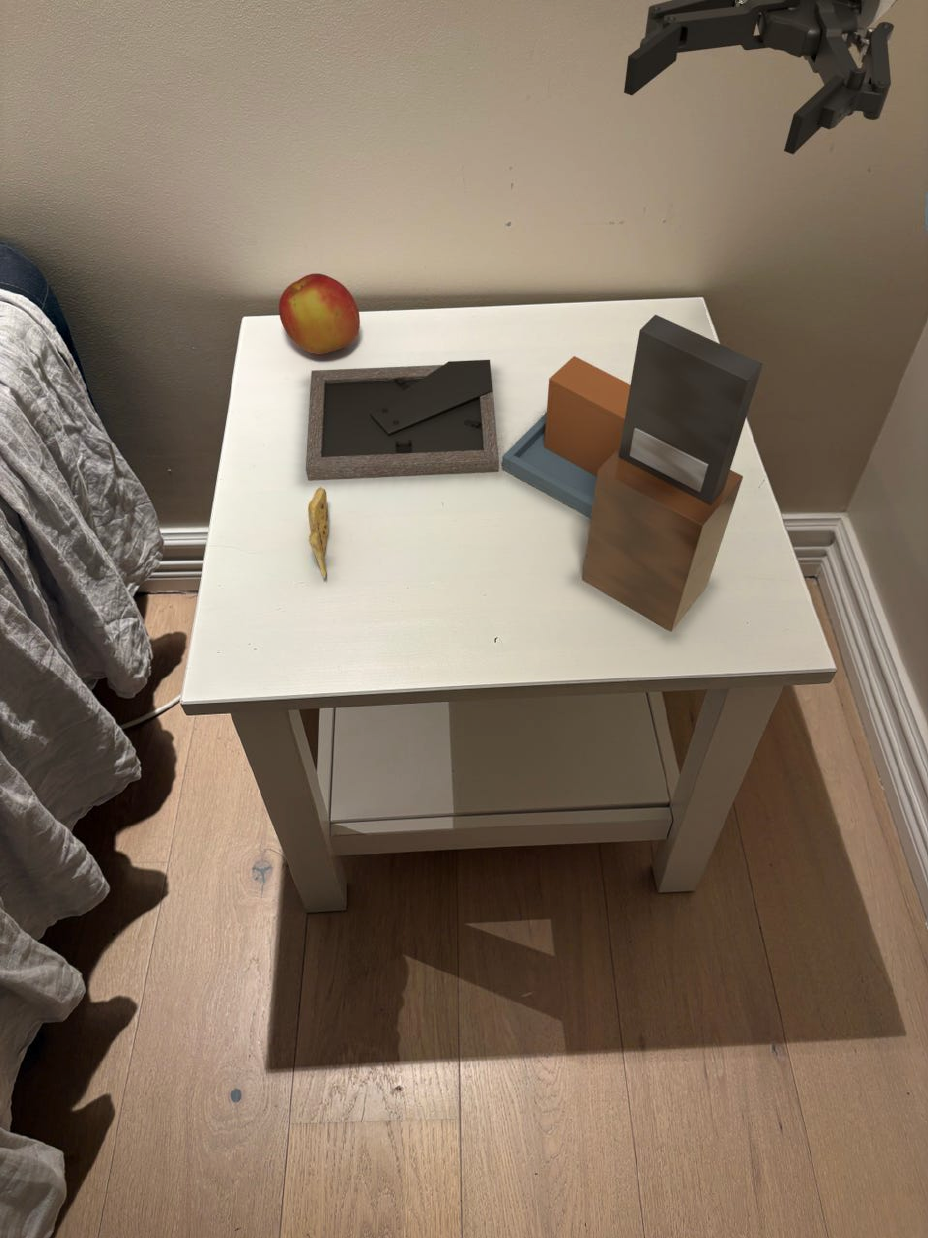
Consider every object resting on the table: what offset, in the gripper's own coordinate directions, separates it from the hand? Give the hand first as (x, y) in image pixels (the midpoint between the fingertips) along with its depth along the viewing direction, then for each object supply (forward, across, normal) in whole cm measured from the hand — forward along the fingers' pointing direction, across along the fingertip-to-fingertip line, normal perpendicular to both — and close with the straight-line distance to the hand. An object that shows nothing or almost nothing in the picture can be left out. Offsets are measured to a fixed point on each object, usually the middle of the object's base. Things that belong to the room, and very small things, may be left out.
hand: (708, 104), depth 71 cm
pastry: (+33, +14, -30) cm, 47 cm away
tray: (+10, 0, -30) cm, 32 cm away
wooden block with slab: (+19, -11, -30) cm, 37 cm away
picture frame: (+17, +18, -30) cm, 39 cm away
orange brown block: (+9, 0, -29) cm, 31 cm away
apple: (+13, +32, -30) cm, 46 cm away
